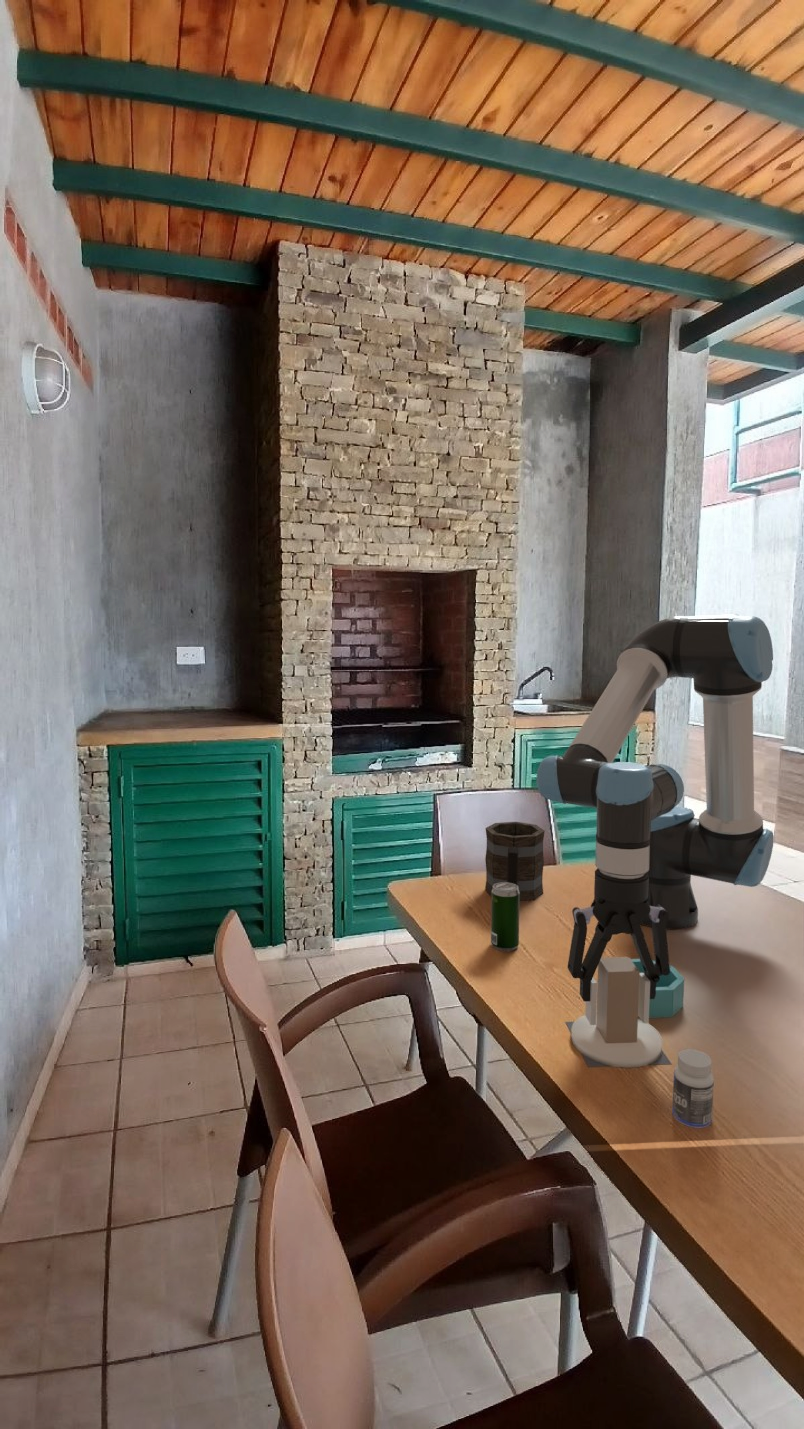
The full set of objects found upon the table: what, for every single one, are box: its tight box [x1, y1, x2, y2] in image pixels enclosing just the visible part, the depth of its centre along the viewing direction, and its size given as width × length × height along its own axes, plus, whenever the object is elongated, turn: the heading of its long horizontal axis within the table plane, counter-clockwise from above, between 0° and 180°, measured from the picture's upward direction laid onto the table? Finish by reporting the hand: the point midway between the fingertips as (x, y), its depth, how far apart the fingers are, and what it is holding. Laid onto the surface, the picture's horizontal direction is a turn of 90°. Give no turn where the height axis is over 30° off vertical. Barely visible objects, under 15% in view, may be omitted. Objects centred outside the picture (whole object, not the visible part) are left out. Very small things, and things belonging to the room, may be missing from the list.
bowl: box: [630, 958, 685, 1019], centre depth 125 cm, size 11×11×5 cm
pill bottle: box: [671, 1048, 715, 1129], centre depth 95 cm, size 5×5×8 cm
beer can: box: [490, 882, 520, 952], centre depth 146 cm, size 5×5×12 cm
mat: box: [565, 1021, 673, 1068], centre depth 113 cm, size 12×12×1 cm
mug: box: [484, 821, 546, 903], centre depth 172 cm, size 20×14×15 cm
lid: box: [570, 956, 663, 1069], centre depth 112 cm, size 13×13×12 cm
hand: (616, 1019), depth 112 cm, fingers open, 7 cm apart
